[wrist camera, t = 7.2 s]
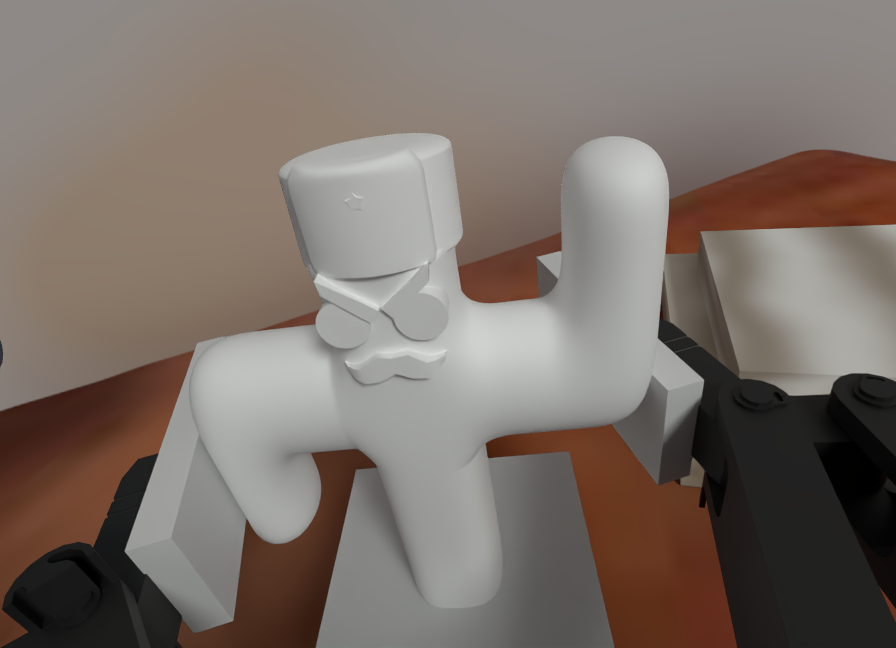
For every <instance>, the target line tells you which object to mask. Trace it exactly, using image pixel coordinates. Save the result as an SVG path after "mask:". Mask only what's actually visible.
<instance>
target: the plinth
mask: <svg viewBox="0 0 896 648" xmlns="http://www.w3.org/2000/svg"><path fill="white" fill-rule="evenodd" d="M661 302H662V311H663V320H666V321H668V322H671V323H673V324H674V325H675V326H677V327H678V328H679V329H680V330H682V331H683V332H684V333H685V334H686V335H687V337H690V338H691V339H693V340H694V341H695V342H696V343H697V344H698V346H699V347H700V346H701V347H702V348H704V349H705V350H706V351H707V352H708V353H710V354H711V355H712V356H713V357H715V358H716V359H717V360H718V361H719V362H721V363H722V364H723V365H724V366H726V367H727V368H728V369H729V370H730V371H732V372H733V373H734V374H735V375H737V376H738V377H739V378H740V379H754V380H761V381H764V382H767V383H770V384H773V385H775V386H777V387H778V388H780V389H782V390H783V391H785V392H786V393H787V394H788V395H791V396H798V395H823V394H830V392H831V389H832V386H833V383H834V381H836V380H837V379H838V378H839V377H840V376H844V375H847V374H851V373H868V374H873V375H878V376H883V377H886V378H889V379H891V380H894V381H896V225H874V226H846V227H818V228H790V229H761V230H733V231H705V232H701V233H700V242H699V251H698V254H665V259H664V271H663V282H662V294H661ZM704 471H705V470H704V469H703V468H702V467H701V465H700V464H699V463H698V462H697V461H696V460H695V459H694V458H693V456H692V463H691V469H690V475H689V476H686V477H683V478H680V485H684V486H693V487H702V483H703V477H704Z"/></svg>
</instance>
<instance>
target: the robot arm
mask: <svg viewBox="0 0 896 648" xmlns="http://www.w3.org/2000/svg"><path fill="white" fill-rule="evenodd" d="M561 258H562V252H561V251H559V252H555V253H551V254H547V255H543V256H539V257H537V269H538V284H539V298H541V297H544V296H546V295H547V294H549V293H550V292H551V291H552V290H553V288H554V287H555V286H556V284H557V281H558V278H559V274H560V268H561ZM223 338H226V337H225V336H223V337H220V338H216V339H212V340H208V341H204V342H200V343H197V346H196V349H195V351H194V354H193V357H192V360H191V363H190V366H189V369H188V371H187V374H186V377H185V380H184V383H183V386H182V389H181V391H180V394H179V397H178V400H177V403H176V406H175V409H174V411H173V414H172V417H171V420H170V423H169V426H168V429H167V431H166V434H165V437H164V440H163V443H162V446H161V449H160V451H159V453H158V454H155V455H151V456H147V457H144V458H140V459H138V460H137V461H136V462H135V463H134V465H133V466H132V467H131V468H130V469H129V471H128V472H127V473H126V474H125V475H124V477H123V478H122V479H121V482H120V484H119V487H118V489H117V491H116V494H115V496H114V502H112V504H111V506H110V508H109V511H108V513H107V516H108V518H106V519H105V520H104V523H103V525H102V528H101V530H100V533H99V535H98V537H97V540H96V542H95V545H94V547H92V546H91V545H90V544H86V543H81V542H76V543H72V544H67V545H63V546H61V547H59V548H57V549H54V550H52V551H50V552H48V553H46V554H45V555H43V556H42V557H41V558H39V559H38V560H36V561H35V562H34V563H32V564H31V565H30V566H29V567H28V568H27V569H26V570H25V571H24V572H23V573H22V574H21V575H20V576H19V577H18V578H17V579H16V580H15V581H14V583H13V584H12V586H11V587H10V589H9V591H8V592H7V594H6V595H5V599H4V603H3V608H2V610H3V611H4V612H6V613H7V614H8V615H9V616H10V617H12V618H13V619H14V620H15V621H16V622H18V623H19V624H20V625H21V626H22V627H24V628H25V629H26V630H27V631H28V633H26V634H24V635H23V636H21V637H19V638H17V639H16V640H14V641H12V642H10V643H8V644H7V645H5V646H3V647H1V648H182V647H181V645H180V644H179V643H178V642H177V638H178V633H179V628H180V624H181V619H182V620H183V621H184V622H185V623H186V624H187V626H188V627H189V628H190V629H191V630H192V631H193V633H197V632H200V631H203V630H206V629H210V628H213V627H216V626H219V625H222V624H225V623H228V622H232V621H233V619H234V612H235V604H236V596H237V588H238V580H239V572H240V564H241V556H242V548H243V540H244V532H245V524H246V516H245V515H244V513H243V511H242V509H241V508H240V506H239V504H238V503H237V501H236V499H235V497H234V496H233V494H232V492H231V491H230V489H229V487H228V486H227V484H226V482H225V480H224V479H223V477H222V475H221V474H220V472H219V470H218V468H217V467H216V465H215V463H214V462H213V460H212V458H211V456H210V454H209V453H208V451H207V449H206V447H205V445H204V443H203V441H202V439H201V437H200V434H199V432H198V430H197V427H196V425H195V422H194V419H193V415H192V411H191V407H190V400H189V381H190V377H191V374H192V370H193V367H194V365H195V363H196V361H197V360H198V358H199V357H200V355H201V354H202V353H203V352H204V351H205V350H206V349H207V348H208V347H210V346H211V345H212V344H214V343H216V342H217V341H219V340H221V339H223ZM2 360H3V349H2V344H1V341H0V366H1V364H2ZM612 425H613V427H614V428H615V429H616V431H617V432H618V433H619V435H620V436H621V437H622V438H623V440H624V441H625V442H626V444H627V445H628V446H629V448H630V449H631V450H632V452H633V453H634V454H635V456H636V457H637V458H638V460H639V461H640V462H641V463H642V465H643V466H644V467H645V469H646V470H647V471H648V473H649V474H650V475H651V477H652V478H653V479H654V481H655V482H656V483H657V485H661V484H664V483H667V482H671V481H674V480H677V479H680V478H683V477H686V476H689V475H690V469H691V463H692V456H693V458H694V459H695V460H696V461H697V462H698V463H699V464H700V465H701V467H702V468H703V469H704V470H705V471H704V477H703V483H702V488H701V494H700V501H699V507H702V508H705V503H706V500H707V505H708V510H709V515H710V519H711V524H712V529H713V534H714V538H715V543H716V548H717V553H718V557H719V562H720V567H721V572H722V576H723V581H724V586H725V591H726V595H727V600H728V605H729V610H730V614H731V619H732V624H733V629H734V633H735V638H736V643H737V648H896V622H895V620H894V618H893V616H892V614H891V611H890V609H889V607H888V605H887V603H886V601H885V598H884V596H883V594H882V592H881V590H880V588H881V589H882V591H883V592H884V593H885V595H886V596H887V597H888V599H889V600H890V601H891V603H892V604H893V606H894V607H895V608H896V381H894V380H891V379H889V378H886V377H883V376H878V375H873V374H868V373H851V374H847V375H844V376H840V377H839V378H838V379H837V380H836V381H834V383H833V386H832V389H831V392H830V394H823V395H798V396H791V395H788V394H787V393H786V392H785V391H783V390H782V389H780V388H778V387H777V386H775V385H773V384H770V383H767V382H764V381H761V380H754V379H740V378H739V377H738V376H737V375H735V374H734V373H733V372H732V371H730V370H729V369H728V368H727V367H726V366H724V365H723V364H722V363H721V362H719V361H718V360H717V359H716V358H715V357H713V356H712V355H711V354H710V353H708V352H707V351H706V350H705V349H704V348H702V347H701V346H700V347H699V346H698V344H697V343H696V342H695V341H694V340H693V339H691V338H690V337H687V335H686V334H685V333H684V332H683V331H682V330H680V329H679V328H678V327H677V326H675V325H674V324H673V323H671V322H668V321H666V320H663V319H661V318H659V328H658V338H657V348H656V355H655V362H654V367H653V372H652V376H651V380H650V383H649V386H648V389H647V391H646V394H645V397H644V398H643V400H642V402H641V403H640V405H639V406H638V407H637V408H636V410H635V411H634V412H632V413H631V414H630V415H629V416H627V417H626V418H624V419H622V420H620V421H618V422H615V423H612ZM879 586H880V588H879Z"/></svg>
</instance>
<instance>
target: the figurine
mask: <svg viewBox="0 0 896 648" xmlns="http://www.w3.org/2000/svg"><path fill="white" fill-rule="evenodd" d="M278 176H279V180H280V183H281V187H282V190H283V193H284V197H285V200H286V204H287V207H288V211H289V214H290V218H291V221H292V224H293V228H294V231H295V235H296V239H297V242H298V245H299V249H300V252H301V256H302V259H303V262H304V264H305V266H306V267H307V268H308V269H309V272H310V275H311V277H312V279H313V281H314V283H315V286H316V288H317V291H318V293H319V296H320V299H321V301H322V306H321V308H320V311H319V313H318V315H317V318H316V324H315V325H307V326H298V327H290V328H281V329H273V330H264V331H256V332H248V333H242V334H237V335H233V336H229V337H226V338H223V339H221V340H219V341H217V342H216V343H214V344H212V345H211V346H210V347H208V348H207V349H206V350H205V351H204V352H203V353H202V354H201V355H200V357H199V358H198V360H197V361H196V363H195V365H194V367H193V370H192V374H191V377H190V381H189V400H190V407H191V411H192V415H193V419H194V422H195V425H196V427H197V430H198V432H199V434H200V437H201V439H202V441H203V443H204V445H205V447H206V449H207V451H208V453H209V454H210V456H211V458H212V460H213V462H214V463H215V465H216V467H217V468H218V470H219V472H220V474H221V475H222V477H223V479H224V480H225V482H226V484H227V486H228V487H229V489H230V491H231V492H232V494H233V496H234V497H235V499H236V501H237V503H238V504H239V506H240V508H241V509H242V511H243V513H244V515H245V516H246V518H247V520H248V521H249V523H250V525H251V526H252V528H253V530H254V531H255V533H256V534H257V535H258V536H259V537H260V538H262V539H263V540H264V541H266V542H269V543H272V544H283V543H287V542H289V541H292V540H294V539H295V538H297V537H298V536H300V535H301V534H302V533H303V532H304V531H305V530H306V529H307V527H308V526H309V525H310V523H311V522H312V520H313V518H314V516H315V514H316V512H317V509H318V506H319V502H320V497H321V480H320V475H319V472H318V469H317V466H316V464H315V461H314V459H313V457H312V454H311V453H314V452H325V451H336V450H347V449H358V450H360V451H361V452H363V453H364V454H365V455H366V456H367V457H369V458H370V459H371V460H372V461H373V462H374V463H375V465H376V466H377V468H370V469H358V470H356V473H355V477H354V482H353V486H352V490H351V495H350V499H349V504H348V508H347V512H346V517H345V521H344V526H343V530H342V534H341V539H340V543H339V547H338V552H337V556H336V561H335V565H334V569H333V574H332V578H331V582H330V587H329V591H328V596H327V600H326V604H325V609H324V613H323V618H322V622H321V626H320V631H319V635H318V639H317V644H316V648H614V643H613V639H612V635H611V631H610V626H609V622H608V618H607V613H606V609H605V605H604V600H603V596H602V592H601V587H600V583H599V579H598V575H597V570H596V566H595V562H594V557H593V553H592V549H591V544H590V540H589V536H588V531H587V527H586V523H585V519H584V514H583V510H582V506H581V501H580V497H579V493H578V488H577V484H576V480H575V475H574V471H573V467H572V463H571V458H570V454H569V451H568V452H557V453H545V454H533V455H522V456H510V457H498V458H488V457H487V450H486V444H485V443H487V442H488V441H490V440H492V439H495V438H498V437H501V436H506V435H513V434H524V433H535V432H547V431H558V430H569V429H580V428H590V427H598V426H604V425H609V424H612V423H615V422H618V421H620V420H622V419H624V418H626V417H627V416H629V415H630V414H631V413H632V412H634V411H635V410H636V408H637V407H638V406H639V405H640V403H641V402H642V400H643V398H644V397H645V394H646V391H647V389H648V386H649V383H650V380H651V376H652V372H653V367H654V362H655V355H656V348H657V338H658V328H659V317H660V305H661V294H662V282H663V271H664V259H665V248H666V236H667V224H668V211H669V184H668V177H667V173H666V170H665V167H664V164H663V162H662V160H661V158H660V157H659V155H658V154H657V153H656V152H655V151H654V150H653V149H652V148H651V147H650V146H648V145H647V144H645V143H643V142H641V141H639V140H636V139H632V138H628V137H620V136H612V137H603V138H598V139H594V140H592V141H589V142H587V143H585V144H583V145H582V146H580V147H579V148H578V149H577V150H575V151H574V153H573V154H572V155H571V156H570V158H569V160H568V161H567V164H566V166H565V169H564V172H563V177H562V185H561V227H562V258H561V268H560V274H559V278H558V281H557V284H556V286H555V287H554V288H553V290H552V291H551V292H550V293H549V294H547V295H546V296H544V297H541V298H536V299H527V300H519V301H510V302H502V303H479V302H475V301H473V300H471V299H469V298H467V297H466V296H465V295H464V294H463V292H462V291H461V287H460V280H459V274H458V267H457V261H456V253H455V246H456V244H457V243H458V242H459V241H460V240H461V238H462V235H463V228H462V220H461V213H460V205H459V198H458V190H457V184H456V175H455V168H454V161H453V153H452V145H451V142H450V141H449V140H448V139H447V138H445V137H443V136H439V135H435V134H426V133H405V134H392V135H383V136H376V137H369V138H363V139H358V140H353V141H348V142H343V143H339V144H335V145H331V146H327V147H324V148H320V149H317V150H314V151H311V152H308V153H305V154H303V155H301V156H298V157H296V158H294V159H292V160H290V161H289V162H287V163H286V164H285V165H284V166H282V167H281V169H280V170H279V173H278Z"/></svg>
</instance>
